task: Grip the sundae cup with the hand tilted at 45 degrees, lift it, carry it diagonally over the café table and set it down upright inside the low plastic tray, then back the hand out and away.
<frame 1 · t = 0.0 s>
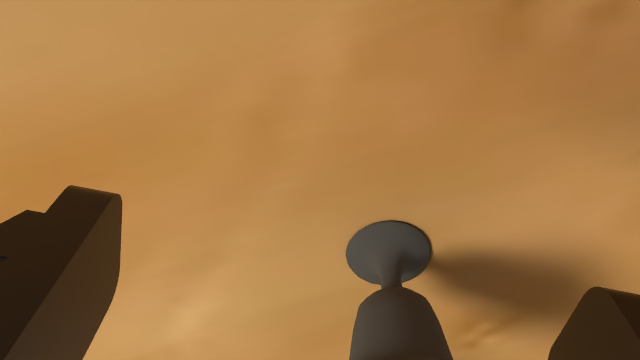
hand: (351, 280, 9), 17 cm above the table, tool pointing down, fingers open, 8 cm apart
sundae: (386, 250, 32), on the table
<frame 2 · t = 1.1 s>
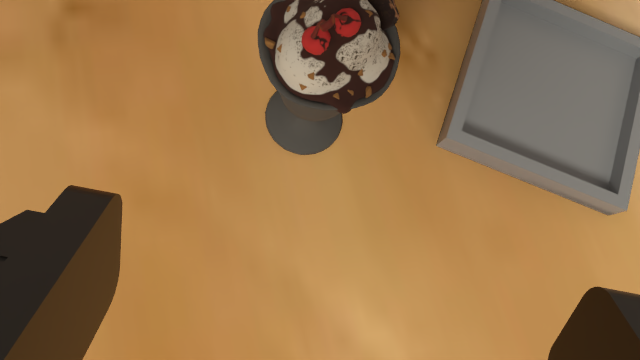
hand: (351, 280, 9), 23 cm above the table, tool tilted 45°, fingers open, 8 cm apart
sundae: (303, 119, 34), on the table
tray: (544, 99, 37), on the table
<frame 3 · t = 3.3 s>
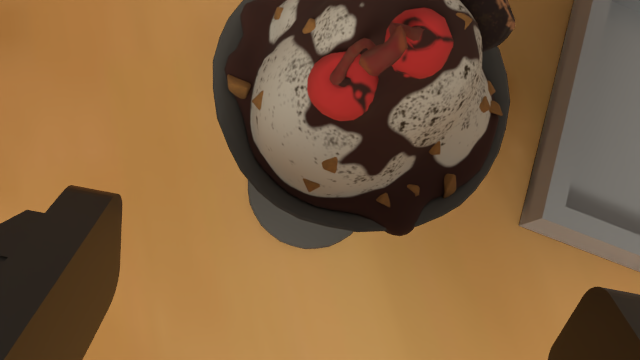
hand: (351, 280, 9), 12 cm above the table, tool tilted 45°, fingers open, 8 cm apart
sundae: (309, 189, 22), on the table
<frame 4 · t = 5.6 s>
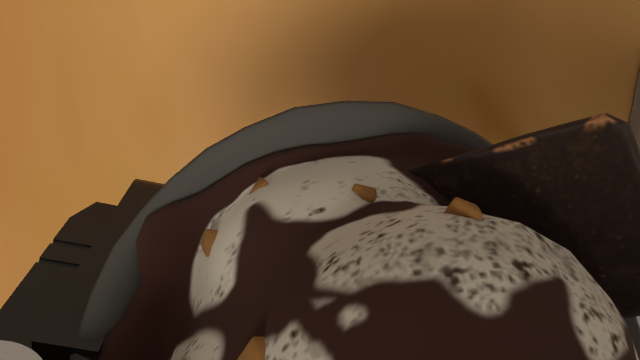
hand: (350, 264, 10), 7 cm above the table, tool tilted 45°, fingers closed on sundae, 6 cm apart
sundae: (295, 341, 16), on the table, touching gripper
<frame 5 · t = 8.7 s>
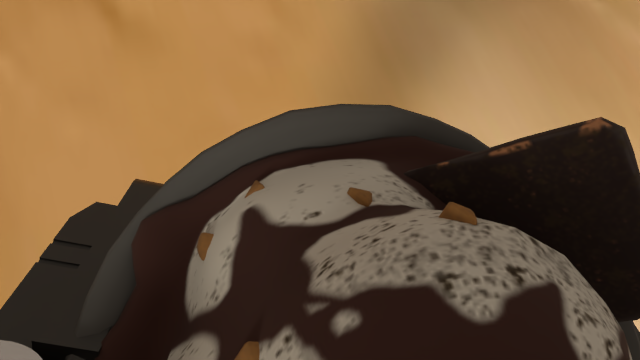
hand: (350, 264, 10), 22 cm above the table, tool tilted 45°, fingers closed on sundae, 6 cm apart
sundae: (293, 342, 16), point 15 cm above the table, touching gripper
when the fingers open (8 cm above the table, at t = 12.0 s): sundae stays where it is, resting on tray.
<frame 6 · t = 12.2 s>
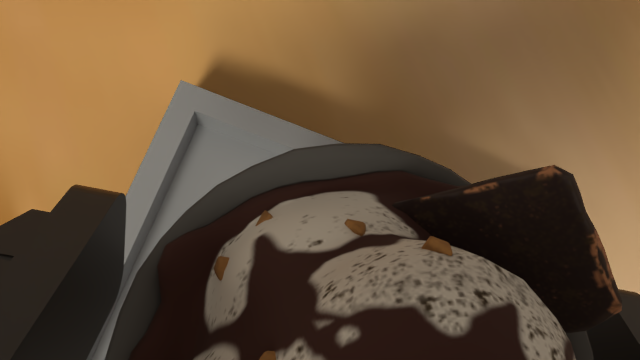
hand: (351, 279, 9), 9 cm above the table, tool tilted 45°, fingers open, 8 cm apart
sundae: (286, 349, 17), resting on tray
tray: (291, 339, 17), on the table
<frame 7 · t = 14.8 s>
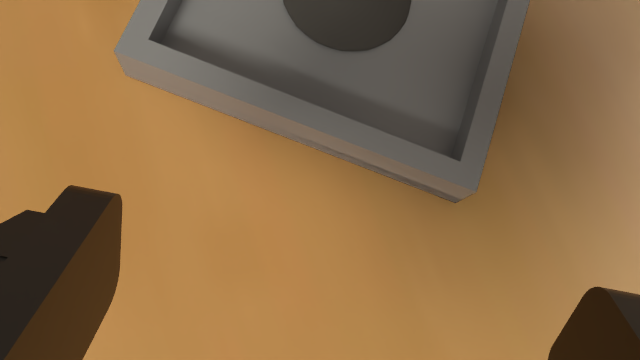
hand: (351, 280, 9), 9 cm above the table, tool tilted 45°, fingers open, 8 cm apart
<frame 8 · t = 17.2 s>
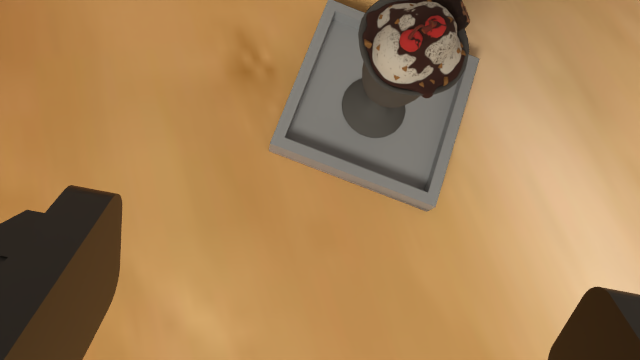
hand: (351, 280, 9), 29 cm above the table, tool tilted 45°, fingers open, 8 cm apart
sundae: (372, 109, 41), resting on tray
tray: (374, 107, 41), on the table
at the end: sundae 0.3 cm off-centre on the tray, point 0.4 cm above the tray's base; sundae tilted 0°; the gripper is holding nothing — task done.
